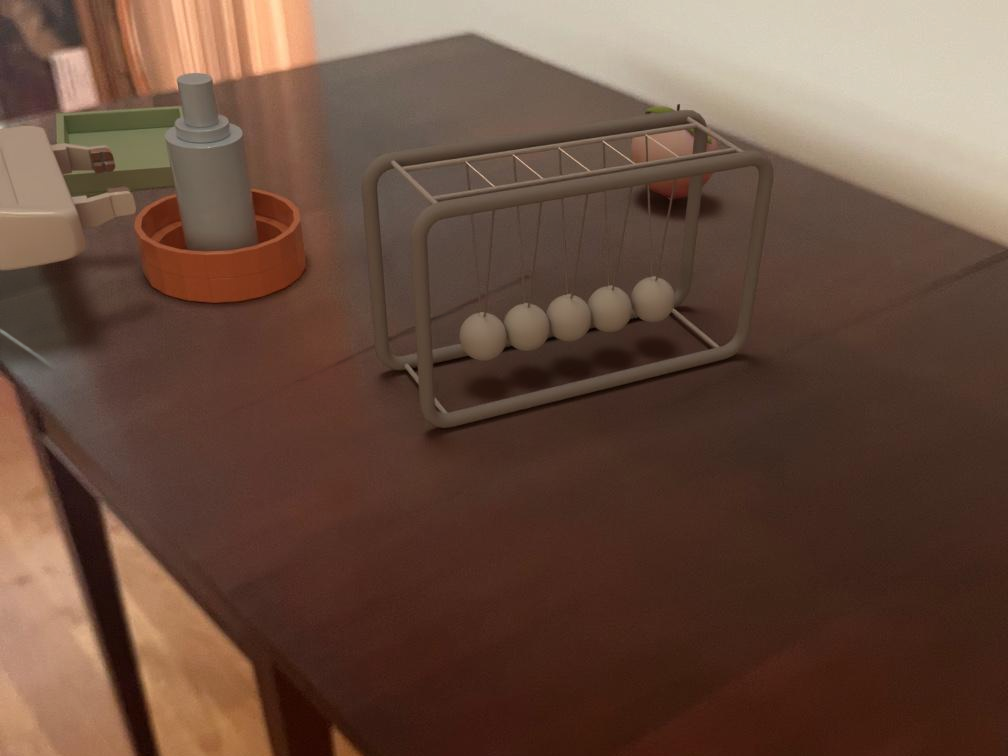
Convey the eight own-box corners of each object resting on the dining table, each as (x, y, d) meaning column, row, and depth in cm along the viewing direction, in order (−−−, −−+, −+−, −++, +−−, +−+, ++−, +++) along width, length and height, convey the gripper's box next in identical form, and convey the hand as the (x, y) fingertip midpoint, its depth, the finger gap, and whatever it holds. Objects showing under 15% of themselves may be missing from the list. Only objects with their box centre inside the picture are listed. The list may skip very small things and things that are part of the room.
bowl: (208, 324, 100) (198, 269, 96) (114, 269, 106) (102, 216, 103) (338, 272, 108) (332, 220, 105) (243, 224, 115) (235, 174, 111)
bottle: (218, 288, 104) (184, 97, 93) (175, 265, 106) (137, 76, 96) (276, 266, 107) (250, 79, 96) (234, 244, 110) (204, 60, 99)
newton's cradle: (684, 303, 107) (706, 104, 95) (748, 356, 100) (780, 149, 89) (375, 371, 95) (356, 154, 84) (424, 436, 89) (412, 210, 77)
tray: (204, 188, 121) (199, 164, 119) (63, 199, 117) (57, 175, 115) (189, 127, 133) (185, 105, 131) (61, 136, 129) (55, 113, 127)
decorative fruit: (609, 200, 124) (615, 103, 117) (654, 178, 129) (662, 84, 122) (682, 226, 120) (693, 127, 113) (725, 202, 125) (737, 106, 118)
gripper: (-55, 189, 102) (109, 169, 107) (-33, 291, 89) (154, 263, 94) (-79, 116, 98) (93, 99, 103) (-60, 212, 85) (137, 186, 90)
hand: (122, 178), depth 99 cm, fingers open, 8 cm apart
